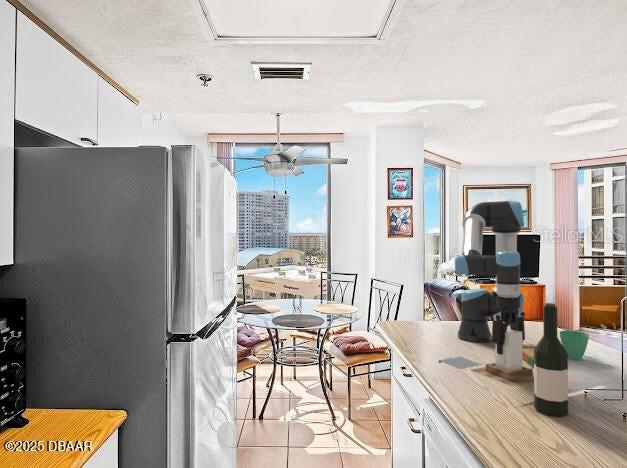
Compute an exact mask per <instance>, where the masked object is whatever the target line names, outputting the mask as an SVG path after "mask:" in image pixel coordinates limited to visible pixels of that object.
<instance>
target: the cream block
mask: <svg viewBox="0 0 627 468" xmlns="http://www.w3.org/2000/svg"><path fill="white" fill-rule="evenodd" d="M500 341H501V340H500ZM522 341H523V340H522V332H521V331H516V330H512V329H511V328H510V327H507V332H505V341H504V345H506V364H505V365H504V364H501V363H498V354H497V344H495V343H494V344H495V346H494V347H495V350H494V351H495V363H496V367H498V368H501V369H503V370H506V371H509V372H513V371H518V370H522V366H523V360H522V349H523V343H522Z"/></svg>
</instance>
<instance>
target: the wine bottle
mask: <svg viewBox="0 0 627 468" xmlns="http://www.w3.org/2000/svg"><path fill="white" fill-rule="evenodd" d="M533 349H534V368H533V372H534V382H533V384H534V385H533V389H534V390H533V391H534V392H533V393H534V397H533V398H534V403H533V404H534V405H533V406H534V408H535V411H536V412H537V413H540V414H542V415H545V416H548V417H553V418H555V417H556V418H563V417H566V416H568V415H569V367H568V366H569V359H568V354H567V352H566V350H565V349H564V347H563V346H562V342H561V340H560V339H559V337H558V307H557V306H556V303H551V302H545V303H544V306H543V335H542V337H541V339H540V340H539V341H538V343H537V344H536V345H535V346H534V348H533Z"/></svg>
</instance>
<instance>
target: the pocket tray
mask: <svg viewBox="0 0 627 468" xmlns="http://www.w3.org/2000/svg"><path fill="white" fill-rule="evenodd" d="M470 371H472V372H474V373H477V374H479V375H483V376H484V377H487V378H489V379H492V380H494V381H497V382H499V383H502V384H505V385H508V386H510V387H512V388H513V387H517V386H521V385H526V384H530V383H534V368H532V367H528V366H525V365H522V370H518V371H513V372H509V371H506V370H503V369H501V368H498V367H496V362H492V363H491V362H490V363H486V364H485V366H483V367H477V368H472V369H470Z"/></svg>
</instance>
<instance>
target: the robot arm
mask: <svg viewBox="0 0 627 468" xmlns="http://www.w3.org/2000/svg"><path fill="white" fill-rule="evenodd" d="M461 222H462V227H463V238H462V246H461V254H458V255H456V256H455V258H454V271H455V273H456V274H457V275H463V276H464V275H465V276H489V277H490V276H491V277H493V276H495V286H494V287H492V291H491V292H490V291H488V289H487V288H471V289H465V290H463V291H462V292H461V297H460V302H461V303H460V304H461V312H460V313H461V321H460V325H459V328H458V331H457V338H458V339H460V340H463V341H467V342H472V343H473V342H474V343H487V342H492V343H493V344H497V354H498V363H501V364H504V365H505V364H506V345H504V341H505V332H507V328H509V329H512V330H516V331H521V332H522V344H523V343H524V341H525V339H526V333H525V332H526V331H525V315H526V312H524V310H523V309H524V300H525V295H524V293H522V292H521V255H520V252H518V251H517V250H518V248H517V247H518V246H517V245H518V243H517V242H518V234H520V233H521V229H523V228H525V218H524V213H523V207H522V203H521V202H519V201H517V200H505V201H504V200H503V201H483V202H479V203H477V204H474V205H473V206H472V207H470V208H469V209H468V210H467V211H466V212H465V214H464V216H463V218H462V221H461ZM485 228H487V229H488V228H489V229H490V228H491V232H492V233H493V234H494V235H495V255H483V237H484V236H483V232H484V229H485ZM489 318H491V319H492V326H491V328H492V331H491V330H490V326H489V324H488V323H489V321H488V320H489ZM500 340H501V341H500Z"/></svg>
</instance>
